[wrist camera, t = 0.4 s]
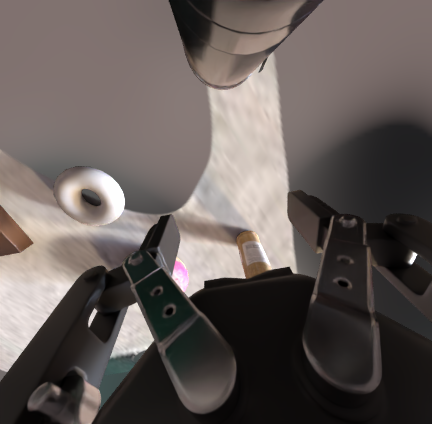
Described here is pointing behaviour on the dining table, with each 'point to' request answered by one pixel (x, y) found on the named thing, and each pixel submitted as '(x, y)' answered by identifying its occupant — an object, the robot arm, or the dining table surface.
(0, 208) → the switch block
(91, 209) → the donut
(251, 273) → the sprinkles bottle
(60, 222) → the dining table surface
